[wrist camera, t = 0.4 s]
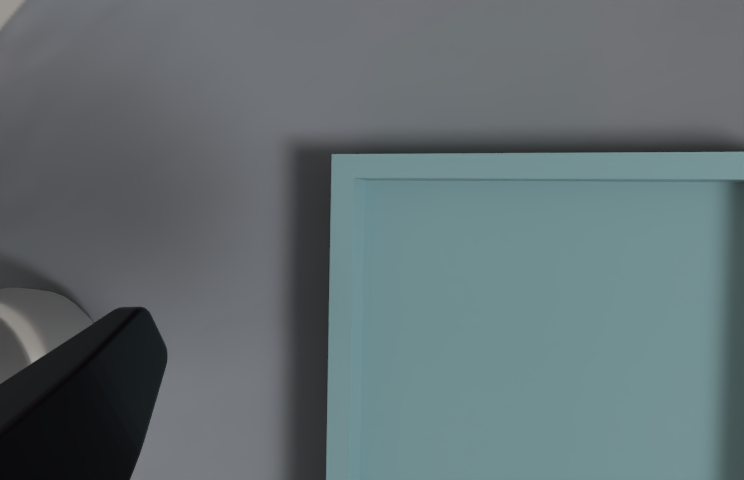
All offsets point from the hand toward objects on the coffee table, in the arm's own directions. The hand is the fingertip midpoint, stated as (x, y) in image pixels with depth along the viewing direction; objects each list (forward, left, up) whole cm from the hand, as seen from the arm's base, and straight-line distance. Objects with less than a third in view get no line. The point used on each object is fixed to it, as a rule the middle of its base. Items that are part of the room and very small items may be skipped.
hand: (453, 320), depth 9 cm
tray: (-4, +1, -15) cm, 16 cm away
